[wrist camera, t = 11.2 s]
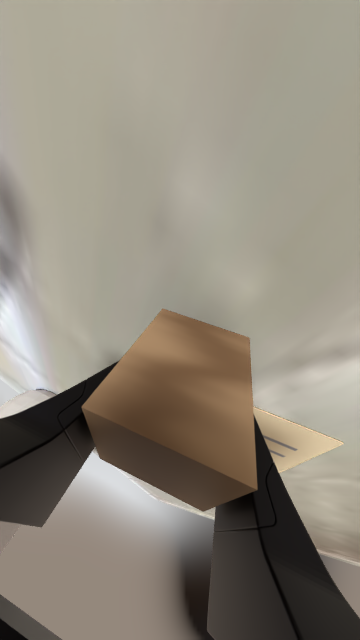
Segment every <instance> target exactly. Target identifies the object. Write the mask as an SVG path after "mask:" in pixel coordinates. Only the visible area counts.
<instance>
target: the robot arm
mask: <svg viewBox="0 0 360 640" xmlns="http://www.w3.org/2000/svg"><path fill="white" fill-rule="evenodd" d="M119 361H120V360H119ZM119 361H118V362H119ZM118 362H116V363H114V364H112V365H111V366H109V367H107V368H105V369H104V370H102V371H100V372H98V373H97V374H95V375H93V376H91V377H89V378H88V379H87V380H84V381H82V382H81V383H79V384H77V385H75V386H73V387H71V388H70V389H68V390H66V391H64V392H62V393H60V394H58V395H56V396H54V397H51V398H49V399H47V400H45V401H43V402H41V403H39V404H36V405H34V406H32V407H30V408H28V409H26V410H23V411H21V412H19V413H16V414H14V415H10V416H7V417H4V418H0V554H1V552H2V551H3V550H4V548H5V547H6V545H7V544H8V543H9V541H10V540H11V538H12V537H13V536H14V534H15V533H16V531H17V530H18V528H19V527H20V526H21V524H23V525H30V526H36V527H42V526H43V525H44V523H45V522H46V520H47V519H48V517H49V516H50V514H51V513H52V511H53V510H54V508H55V507H56V505H57V504H58V502H59V501H60V499H61V497H62V496H63V495H64V493H65V492H66V490H67V488H68V487H69V485H70V484H71V482H72V481H73V479H74V478H75V476H76V475H77V473H78V472H79V470H80V469H81V467H82V466H83V464H84V462H85V461H86V460H87V458H88V456H89V455H90V453H91V452H92V450H93V449H94V447H95V443H94V441H93V438H92V435H91V432H90V430H89V427H88V424H87V421H86V419H85V416H84V413H83V410H82V408H81V407H82V406H83V404H84V403H85V402H86V401H87V400H88V398H89V397H90V396H91V395H92V394H93V392H94V391H95V390H96V389H97V387H98V386H99V385H100V384H101V383H102V381H103V380H104V379H105V378H106V377H107V375H108V374H109V373H110V372H111V371H112V369H113V368H114V367H115V366H116V365H117V363H118ZM253 414H254V413H253ZM254 433H255V452H256V471H257V490H256V491H254V492H251V493H249V494H246V495H244V496H241V497H239V498H236V499H234V500H231V501H229V502H226V503H224V504H221V505H219V506H216V510H215V524H214V537H213V538H214V539H213V552H212V565H211V579H210V594H209V606H208V621H207V631H208V632H209V633H210V635H211V636H212V637H213V638H214V639H215V640H360V618H359V617H358V616H357V614H356V613H355V612H354V610H353V609H352V608H351V606H350V605H349V604H348V602H347V601H346V600H345V598H344V597H343V595H342V593H341V592H340V590H339V589H338V587H337V586H336V584H335V583H334V581H333V580H332V578H331V576H330V575H329V573H328V571H327V569H326V567H325V565H324V564H323V562H322V560H321V558H320V556H319V554H318V552H317V550H316V548H315V546H314V544H313V542H312V540H311V538H310V536H309V534H308V532H307V530H306V528H305V526H304V524H303V522H302V520H301V518H300V516H299V514H298V512H297V510H296V508H295V506H294V504H293V502H292V500H291V498H290V496H289V494H288V492H287V490H286V488H285V485H284V483H283V481H282V479H281V476H280V474H279V472H278V470H277V467H276V465H275V463H274V462H273V461H274V460H273V458H272V456H271V453H270V451H269V449H268V446H267V444H266V442H265V439H264V437H263V435H262V432H261V430H260V427H259V425H258V423H257V420H256V418H255V416H254ZM0 640H62V639H61V638H59V637H58V636H56V635H55V634H54V633H52V632H51V631H50V630H48V629H47V628H46V627H44V626H43V625H41V624H40V623H39V622H37V621H36V620H35V619H33V618H32V617H30V616H29V615H28V614H26V613H25V612H24V611H22V610H21V609H20V608H18V607H17V606H15V605H14V604H13V603H11V602H10V601H8V600H7V599H6V598H4V597H3V596H2V595H0Z"/></svg>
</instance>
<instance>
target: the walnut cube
mask: <svg viewBox="0 0 360 640" xmlns="http://www.w3.org/2000/svg"><path fill="white" fill-rule="evenodd" d="M81 408H82V410H83V413H84V416H85V419H86V421H87V424H88V427H89V430H90V432H91V435H92V438H93V441H94V443H95V446H96V449H97V451H98V454H99V457H100V459H102V460H104V461H106V462H108V463H110V464H112V465H114V466H115V467H117V468H119V469H121V470H123V471H125V472H127V473H129V474H131V475H133V476H135V477H137V478H139V479H141V480H143V481H145V482H147V483H149V484H150V485H152V486H154V487H156V488H158V489H160V490H162V491H164V492H166V493H168V494H170V495H172V496H174V497H176V498H178V499H180V500H182V501H183V502H185V503H187V504H189V505H191V506H193V507H195V508H197V509H199V510H201V511H206V510H209V509H211V508H214V507H216V506H219V505H221V504H224V503H226V502H229V501H231V500H234V499H236V498H239V497H241V496H244V495H246V494H249V493H251V492H254V491H256V490H257V471H256V452H255V433H254V414H253V395H252V377H251V358H250V339H249V338H248V337H246V336H243V335H240V334H237V333H234V332H231V331H228V330H225V329H222V328H219V327H216V326H213V325H210V324H207V323H204V322H201V321H198V320H195V319H192V318H189V317H186V316H183V315H180V314H177V313H174V312H171V311H168V310H166V309H162V310H161V311H160V313H159V314H158V315H157V316H156V317H155V319H154V320H153V321H152V322H151V323H150V325H149V326H148V327H147V328H146V330H145V331H144V332H143V333H142V334H141V336H140V337H139V338H138V339H137V340H136V342H135V343H134V344H133V345H132V346H131V348H130V349H129V350H128V351H127V352H126V354H125V355H124V356H123V357H122V359H121V360H120V361H119V362H118V363H117V365H116V366H115V367H114V368H113V369H112V371H111V372H110V373H109V374H108V375H107V377H106V378H105V379H104V380H103V381H102V383H101V384H100V385H99V386H98V387H97V389H96V390H95V391H94V392H93V394H92V395H91V396H90V397H89V398H88V400H87V401H86V402H85V403H84V404H83V406H82V407H81Z"/></svg>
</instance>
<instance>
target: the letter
mask: <svg viewBox="0 0 360 640" xmlns="http://www.w3.org/2000/svg"><path fill="white" fill-rule="evenodd" d="M253 413H254V416H255V418H256V420H257V423H258V425H259V427H260V430H261V432H262V435H263V437H264V439H265V442H266V444H267V446H268V449H269V451H270V453H271V456H272V458H273V460H274V461H273V462H274V463H275V465H276V467H277V470H278V472H279V473H281V472H283V471H285V470H287V469H290V468H292V467H294V466H296V465H299V464H301V463H303V462H305V461H307V460H310V459H312V458H314V457H316V456H318V455H321V454H323V453H325V452H327V451H329V450H332V449H334V448H336V447H338V446H340V445H343V444H344V443H343V442H341V441H339V440H336V439H334V438H331V437H329V436H326V435H323V434H321V433H318V432H316V431H313V430H311V429H308V428H306V427H303V426H301V425H298V424H296V423H293V422H291V421H288V420H286V419H283V418H281V417H278V416H276V415H273V414H270V413H268V412H265V411H263V410H260V409H258V408H255V407H253Z"/></svg>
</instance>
